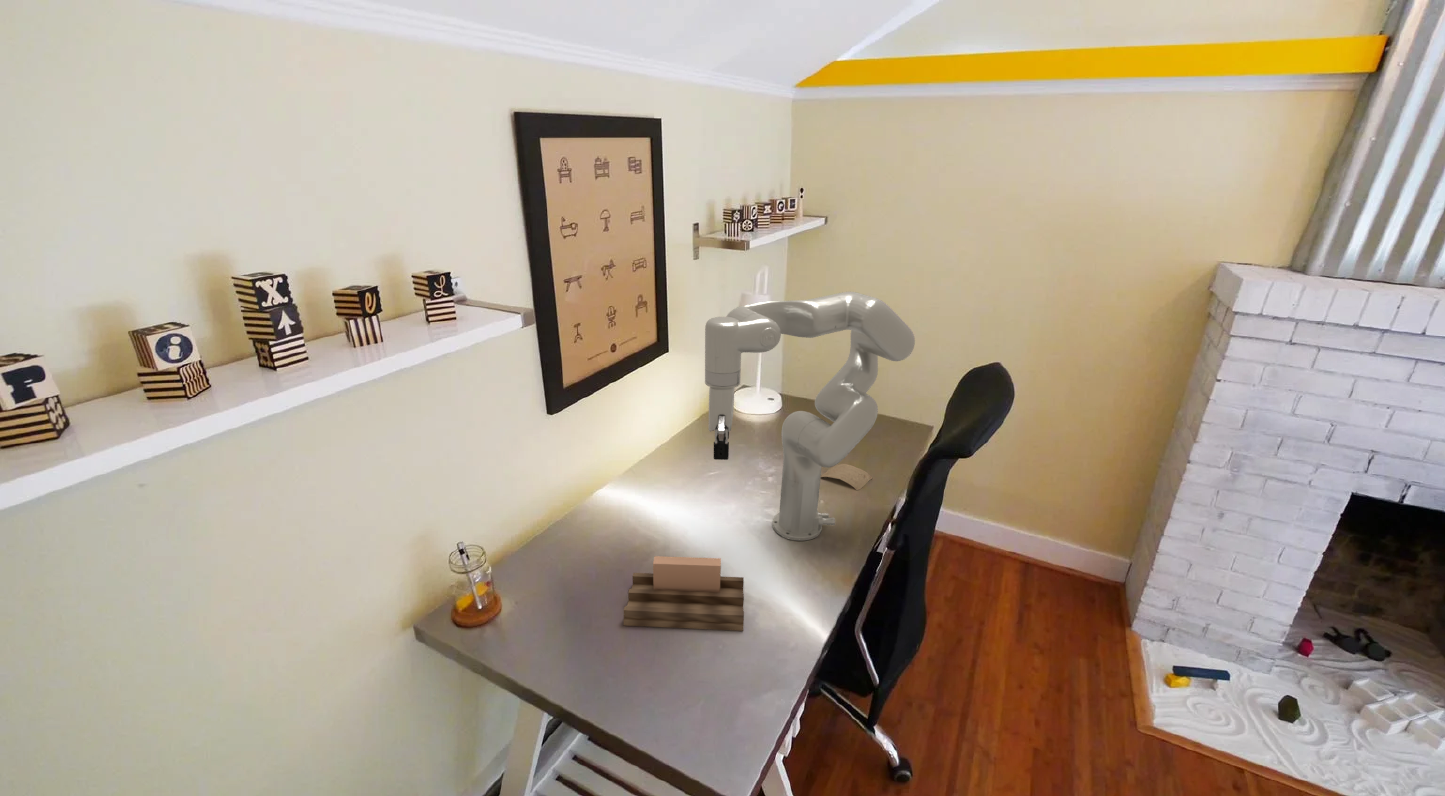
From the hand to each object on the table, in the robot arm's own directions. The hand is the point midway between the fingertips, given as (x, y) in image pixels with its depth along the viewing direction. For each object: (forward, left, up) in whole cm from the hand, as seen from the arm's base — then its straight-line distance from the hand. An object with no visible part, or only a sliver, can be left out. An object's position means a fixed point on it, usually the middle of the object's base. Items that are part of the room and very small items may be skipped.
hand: (721, 448), depth 131 cm
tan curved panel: (-37, -39, -29) cm, 61 cm away
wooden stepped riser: (+6, +19, -28) cm, 34 cm away
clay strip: (+6, +16, -26) cm, 31 cm away
